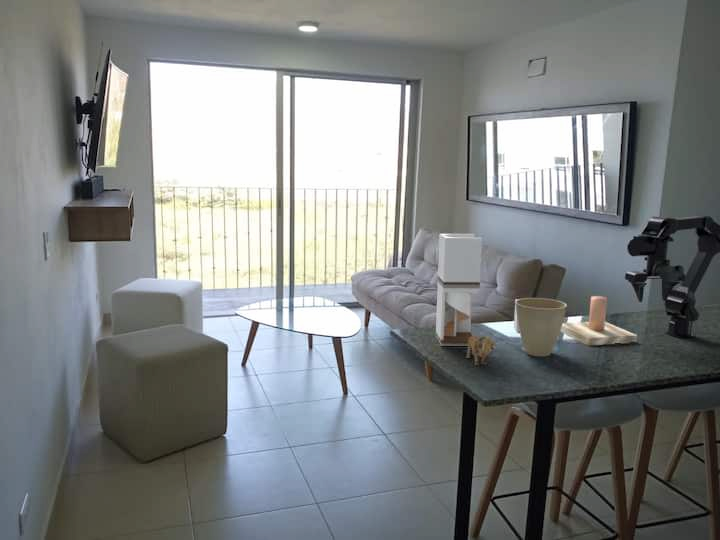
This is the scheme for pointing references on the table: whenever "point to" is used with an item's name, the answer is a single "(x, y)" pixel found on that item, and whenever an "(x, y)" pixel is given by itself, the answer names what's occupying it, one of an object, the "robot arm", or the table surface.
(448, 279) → the white two-tier tower
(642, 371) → the table surface
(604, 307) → the peach capsule
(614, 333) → the birch base plate
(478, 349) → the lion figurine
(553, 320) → the plant pot
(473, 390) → the table surface
